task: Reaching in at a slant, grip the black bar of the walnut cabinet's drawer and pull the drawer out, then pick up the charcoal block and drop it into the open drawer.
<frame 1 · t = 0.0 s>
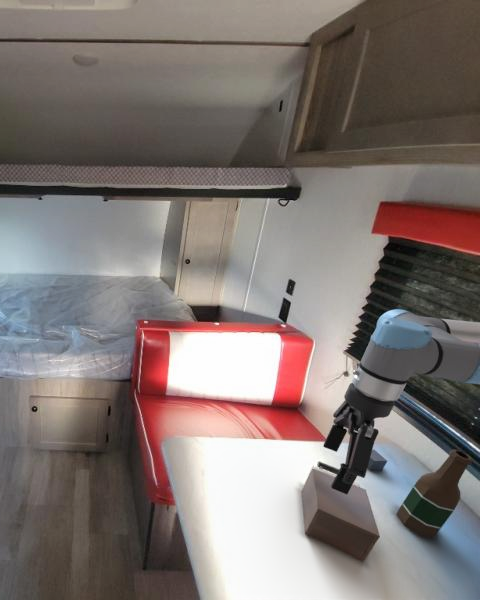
hand: (334, 467, 76), 18 cm above the table, tool pointing down, fingers open, 13 cm apart
drawer: (332, 496, 85), point 5 cm above the table, slide at 1.0 cm
block: (368, 465, 102), on the table
beer bottle: (413, 525, 85), on the table
cabinet: (328, 525, 83), on the table
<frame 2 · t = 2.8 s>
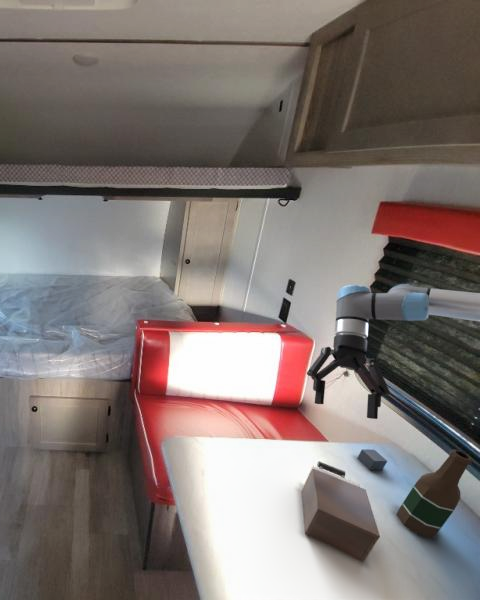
hand: (345, 411, 91), 22 cm above the table, tool tilted 35°, fingers open, 13 cm apart
nothing on the table moved.
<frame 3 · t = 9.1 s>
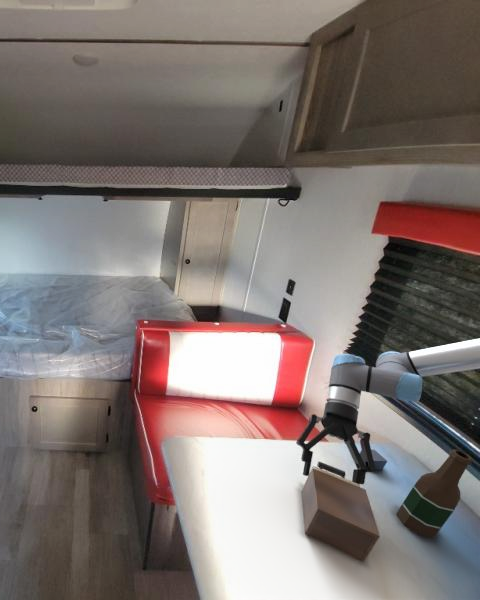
hand: (329, 485, 89), 4 cm above the table, tool tilted 45°, fingers closed on drawer, 10 cm apart
drawer: (332, 496, 85), point 5 cm above the table, slide at 1.0 cm, touching gripper
everything else where it was.
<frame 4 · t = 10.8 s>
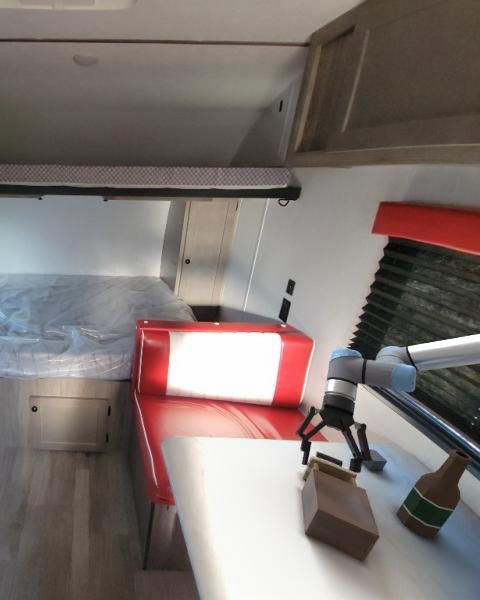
hand: (327, 473, 92), 4 cm above the table, tool tilted 45°, fingers closed on drawer, 10 cm apart
drawer: (330, 484, 89), point 5 cm above the table, slide at 5.2 cm, touching gripper
everything else where it was.
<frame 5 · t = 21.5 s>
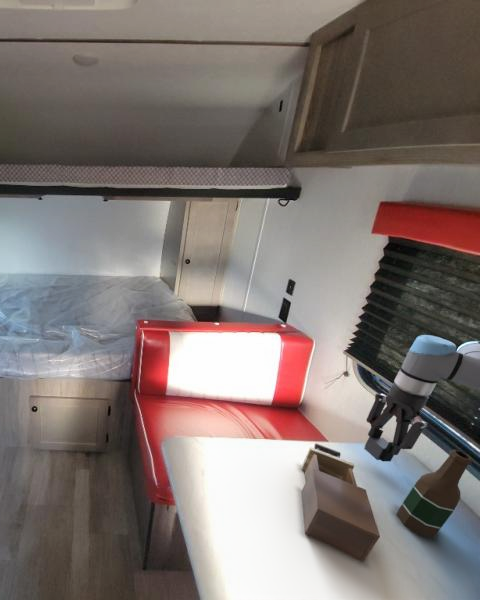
hand: (377, 453, 100), 5 cm above the table, tool pointing down, fingers closed on block, 4 cm apart
drawer: (328, 474, 92), point 5 cm above the table, slide at 8.8 cm
block: (376, 454, 100), point 5 cm above the table, touching gripper
everything else where it was.
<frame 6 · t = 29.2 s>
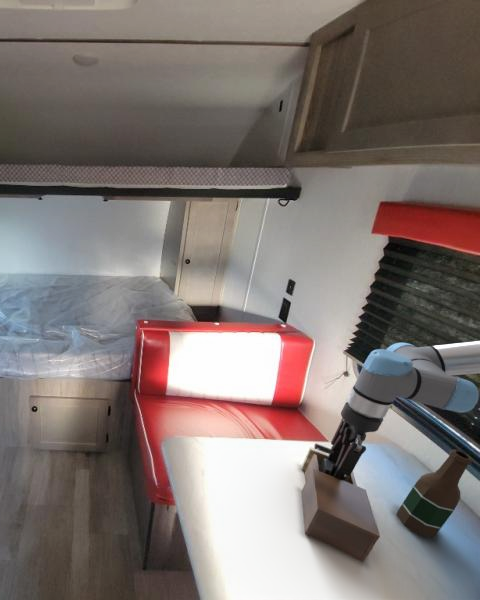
hand: (329, 478, 90), 5 cm above the table, tool pointing down, fingers closed on block, 4 cm apart
block: (328, 479, 90), point 5 cm above the table, touching gripper
everything else where it was.
when the fingers open (8 cm above the table, at t = 35.7 s): block drops 6 cm, resting on drawer.
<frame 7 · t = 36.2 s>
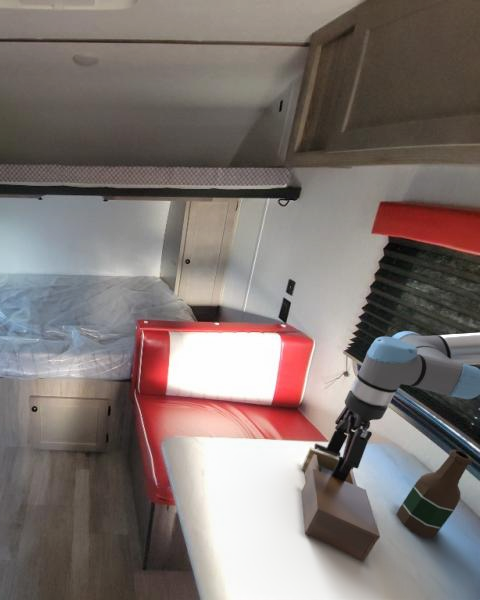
hand: (334, 464, 89), 9 cm above the table, tool pointing down, fingers open, 10 cm apart
drawer: (328, 474, 92), point 5 cm above the table, slide at 8.8 cm, touching block
block: (325, 487, 91), point 2 cm above the table, touching drawer
everything else where it was.
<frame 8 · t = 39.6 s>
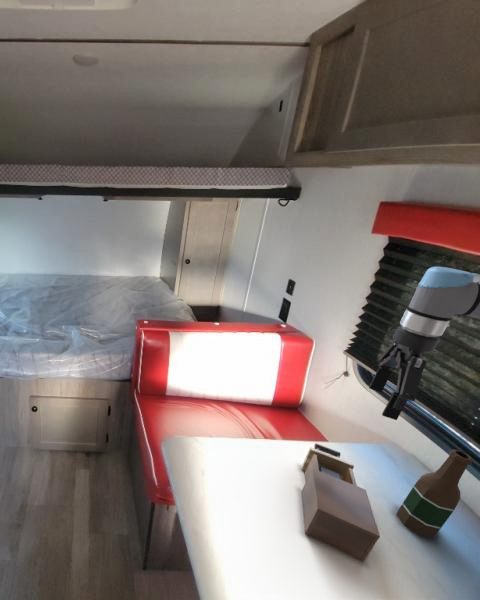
hand: (381, 402, 88), 27 cm above the table, tool pointing down, fingers open, 13 cm apart
nothing on the table moved.
at the end: drawer slide at 8.8 cm; block inside the target area in the drawer (0.1 cm from its centre), point 1.9 cm above the cabinet's base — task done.
